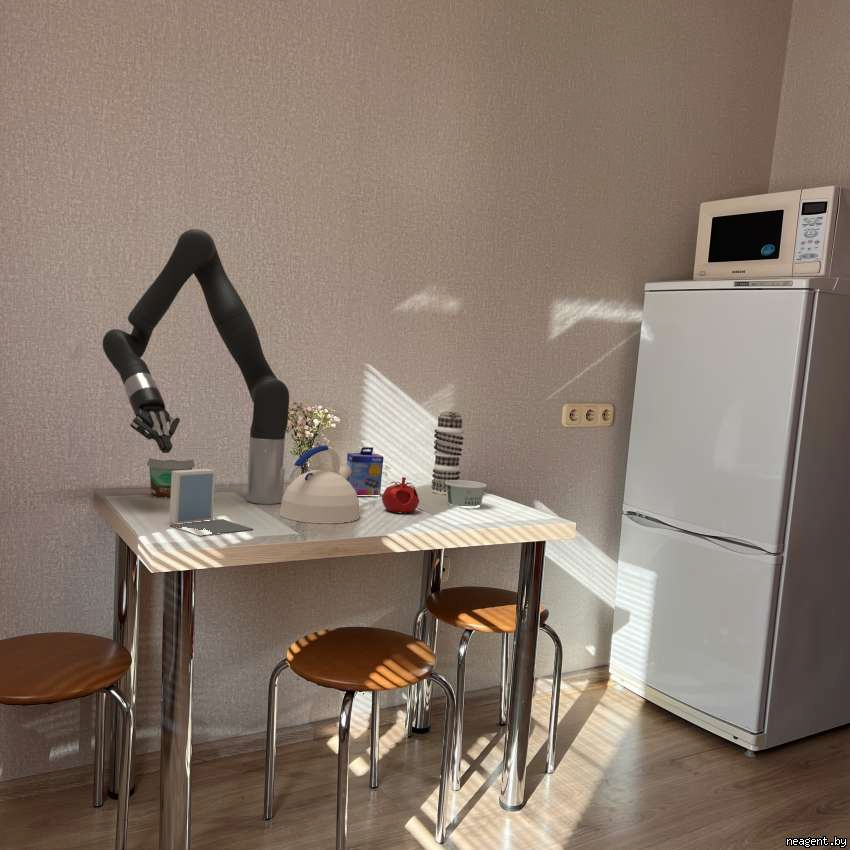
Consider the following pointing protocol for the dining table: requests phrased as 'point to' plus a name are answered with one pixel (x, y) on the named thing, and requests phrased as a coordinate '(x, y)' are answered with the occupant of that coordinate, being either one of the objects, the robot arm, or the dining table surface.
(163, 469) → the food container
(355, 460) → the ink cartridge box
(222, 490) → the dining table surface
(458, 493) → the food container
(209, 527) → the mat
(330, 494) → the kettle
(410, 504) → the pomegranate
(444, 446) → the leaning tower model
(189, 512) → the tile
